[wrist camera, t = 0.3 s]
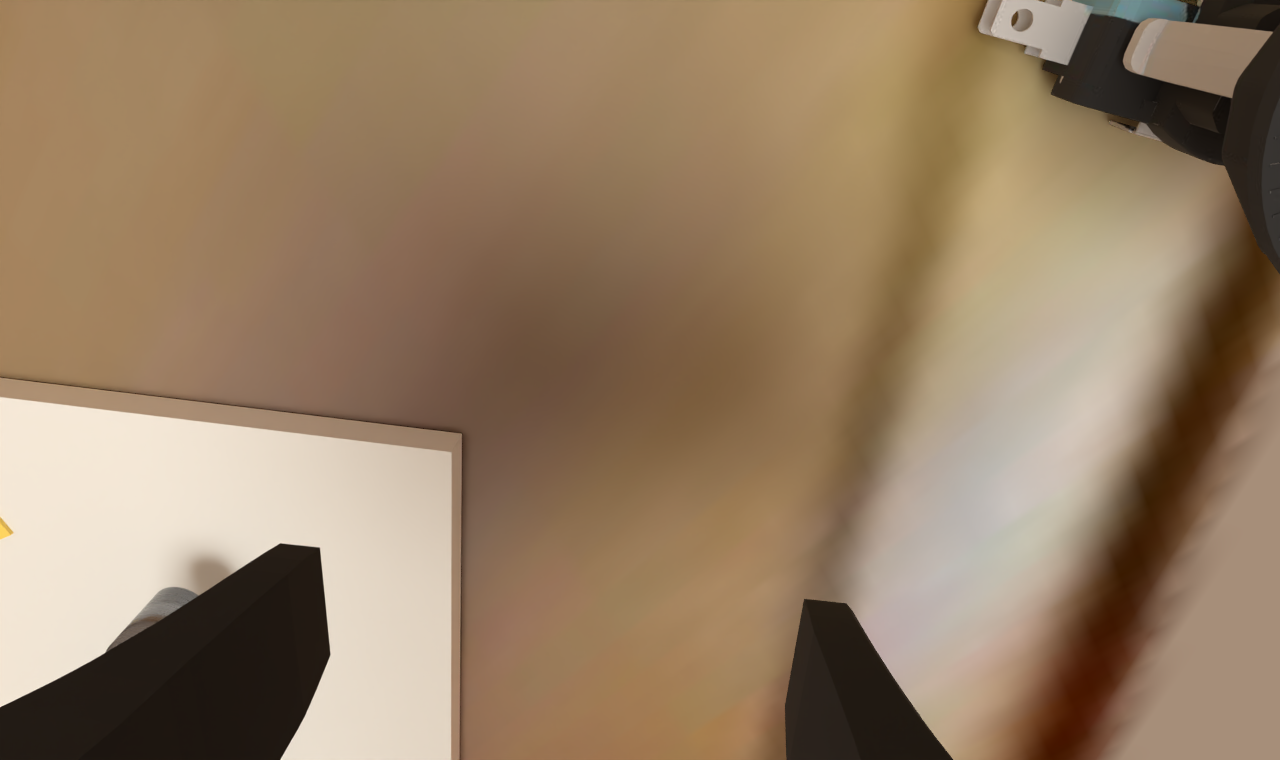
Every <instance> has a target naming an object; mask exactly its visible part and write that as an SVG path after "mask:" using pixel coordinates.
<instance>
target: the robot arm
mask: <svg viewBox="0 0 1280 760" xmlns="http://www.w3.org/2000/svg"><path fill="white" fill-rule="evenodd" d="M330 655H331V654H330V644H329V634H328V623H327V613H326V603H325V593H324V583H323V573H322V563H321V553H320V547H311V546H301V545H292V544H282V543H280V544H278V545H277V546H275V547H273V548H272V549H270V550H268V551H267V552H265V553H263V554H262V555H260V556H259V557H257V558H255V559H254V560H252V561H251V562H249V563H248V564H246V565H245V566H243V567H242V568H240V569H239V570H237V571H236V572H234V573H233V574H231V575H229V576H228V577H226V578H225V579H223V580H222V581H220V582H219V583H217V584H216V585H214V586H213V587H211V588H210V589H208V590H207V591H205V592H203V593H202V594H200V595H199V596H197V597H196V598H194V599H193V600H191V601H189V602H188V603H186V604H185V605H183V606H182V607H180V608H179V609H177V610H175V611H174V612H172V613H171V614H169V615H168V616H166V617H165V618H163V619H161V620H160V621H158V622H157V623H155V624H153V625H151V626H150V627H148V628H146V629H145V630H143V631H141V632H140V633H138V634H136V635H134V636H133V637H131V638H129V639H128V640H126V641H124V642H123V643H121V644H119V645H117V646H116V647H114V648H112V649H111V650H109V651H107V652H106V653H104V654H102V655H101V656H99V657H97V658H95V659H94V660H92V661H90V662H88V663H86V664H85V665H83V666H81V667H79V668H77V669H76V670H74V671H72V672H70V673H68V674H66V675H64V676H62V677H60V678H58V679H56V680H55V681H53V682H51V683H49V684H47V685H45V686H43V687H40V688H38V689H36V690H34V691H32V692H30V693H28V694H26V695H24V696H22V697H20V698H18V699H16V700H14V701H12V702H10V703H8V704H6V705H4V706H1V707H0V760H281V758H282V756H283V754H284V753H285V751H286V749H287V747H288V746H289V744H290V742H291V740H292V739H293V737H294V735H295V733H296V732H297V730H298V728H299V726H300V724H301V723H302V721H303V719H304V717H305V715H306V713H307V710H308V708H309V706H310V704H311V701H312V699H313V697H314V694H315V692H316V690H317V687H318V685H319V682H320V680H321V678H322V675H323V673H324V670H325V668H326V665H327V663H328V660H329V658H330ZM785 725H786V757H787V760H953V759H952V758H951V756H950V755H949V754H948V752H947V751H946V750H945V749H944V747H943V746H942V745H941V744H940V742H939V741H938V740H937V738H936V737H935V736H934V734H933V733H932V732H931V730H930V729H929V728H928V726H927V725H926V724H925V722H924V721H923V720H922V718H921V717H920V715H919V714H918V712H917V711H916V710H915V708H914V707H913V705H912V704H911V702H910V701H909V700H908V698H907V697H906V695H905V694H904V692H903V691H902V690H901V688H900V687H899V685H898V684H897V682H896V681H895V679H894V678H893V676H892V675H891V673H890V672H889V670H888V669H887V667H886V665H885V664H884V662H883V661H882V659H881V658H880V656H879V654H878V653H877V651H876V650H875V648H874V646H873V645H872V643H871V641H870V640H869V638H868V636H867V635H866V633H865V632H864V630H863V628H862V626H861V625H860V623H859V621H858V620H857V618H856V616H855V614H854V613H853V611H852V610H851V609H850V607H849V606H848V605H847V604H846V603H836V602H827V601H818V600H808V599H804V603H803V608H802V614H801V619H800V625H799V631H798V636H797V642H796V647H795V653H794V658H793V664H792V670H791V675H790V681H789V686H788V692H787V697H786V703H785Z"/></svg>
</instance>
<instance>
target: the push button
mask: <svg viewBox="0 0 1280 760" xmlns="http://www.w3.org/2000/svg"><path fill="white" fill-rule="evenodd" d="M1016 11H1017V13H1018V19H1017V21H1016V23H1015V24H1014V25H1013V26H1012V25H1011V19H1012V16H1013V14H1014V13H1015V12H1016ZM978 30H979V32H980V33H983V34H987V35H991V36H994V37H998V38H1001V39H1005V40H1008V41H1012V42H1016V43H1019V44H1023V45H1026V48H1025V51H1024V53H1025V54H1028V55H1032V56H1035V57H1039V58H1043V59H1046V62H1045V64H1044V67H1043V69H1042V70H1044V71H1048V72H1051V73H1054V74H1057V75H1059V76H1058V78H1057V80H1056V83H1055V85H1054V87H1053V89H1052V92H1051V95H1053V96H1056V97H1059V98H1061V99H1064V100H1067V101H1069V102H1072V103H1075V104H1078V105H1082V106H1085V107H1088V108H1092V109H1096V110H1099V111H1103V112H1106V113H1110V114H1114V115H1117V116H1121V117H1124V118H1128V119H1132V120H1135V121H1138V122H1139V124H1138V126H1137V127H1133V126H1130V125H1126V124H1123V123H1119V122H1115V121H1111V120H1110V122H1109V124H1110V125H1112V126H1115V127H1118V128H1120V129H1123V130H1125V131H1128V132H1131V133H1133V134H1136V135H1140V136H1143V137H1147V138H1150V139H1154V140H1158V141H1161V142H1164V143H1165V144H1167V145H1169V146H1170V147H1172V148H1174V149H1176V150H1179V151H1181V152H1184V153H1186V154H1189V155H1191V156H1194V157H1196V158H1199V159H1201V160H1204V161H1207V162H1210V163H1213V164H1217V165H1223V166H1225V167H1226V170H1227V172H1228V174H1229V177H1230V179H1231V182H1232V184H1233V186H1234V189H1235V191H1236V194H1237V196H1238V198H1239V201H1240V203H1241V206H1242V208H1243V210H1244V213H1245V215H1246V217H1247V220H1248V222H1249V225H1250V227H1251V229H1252V232H1253V234H1254V237H1255V239H1256V241H1257V244H1258V246H1259V248H1260V249H1261V251H1262V252H1263V253H1264V254H1266V255H1267V257H1268V258H1269V260H1270V261H1271V262H1272V264H1273V265H1274V267H1275V268H1276V270H1277V271H1278V272H1279V274H1280V0H1198V2H1197V6H1195V5H1191V4H1188V3H1184V2H1181V1H1177V0H1072V1H1071V0H1062V1H1060V0H1045V2H1041V1H1038V0H988V1H987V4H986V6H985V9H984V11H983V14H982V16H981V19H980V22H979V24H978Z"/></svg>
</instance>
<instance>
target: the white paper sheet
mask: <svg viewBox="0 0 1280 760" xmlns="http://www.w3.org/2000/svg"><path fill="white" fill-rule="evenodd" d="M461 495H462V434H461V433H452V432H444V431H436V430H428V429H419V428H411V427H403V426H395V425H386V424H378V423H370V422H362V421H353V420H345V419H337V418H329V417H320V416H312V415H304V414H296V413H287V412H279V411H271V410H263V409H255V408H246V407H238V406H230V405H222V404H213V403H205V402H197V401H189V400H180V399H172V398H164V397H156V396H147V395H139V394H131V393H123V392H114V391H106V390H98V389H90V388H81V387H73V386H65V385H57V384H48V383H40V382H32V381H24V380H15V379H7V378H0V707H1V706H4V705H6V704H8V703H10V702H12V701H14V700H16V699H18V698H20V697H22V696H24V695H26V694H28V693H30V692H32V691H34V690H36V689H38V688H40V687H43V686H45V685H47V684H49V683H51V682H53V681H55V680H56V679H58V678H60V677H62V676H64V675H66V674H68V673H70V672H72V671H74V670H76V669H77V668H79V667H81V666H83V665H85V664H86V663H88V662H90V661H92V660H94V659H95V658H97V657H99V656H101V655H102V654H104V653H106V650H107V648H108V647H109V646H110V645H111V643H112V642H113V641H114V640H115V639H116V638H117V637H118V636H119V635H120V633H121V632H122V631H123V630H124V629H125V628H126V627H127V626H128V625H129V624H130V622H131V621H132V620H133V619H134V618H135V617H136V616H137V615H138V614H139V612H140V611H141V610H142V609H143V608H144V607H145V606H146V605H147V604H148V603H149V601H150V600H151V599H152V598H153V597H154V596H155V595H156V594H157V593H158V592H159V591H160V590H162V589H164V588H168V587H180V588H185V589H188V590H190V591H192V592H194V593H196V594H197V595H200V594H202V593H203V592H205V591H207V590H208V589H210V588H211V587H213V586H214V585H216V584H217V583H219V582H220V581H222V580H223V579H225V578H226V577H228V576H229V575H231V574H233V573H234V572H236V571H237V570H239V569H240V568H242V567H243V566H245V565H246V564H248V563H249V562H251V561H252V560H254V559H255V558H257V557H259V556H260V555H262V554H263V553H265V552H267V551H268V550H270V549H272V548H273V547H275V546H277V545H278V544H280V543H282V544H292V545H301V546H311V547H320V553H321V563H322V573H323V583H324V593H325V603H326V613H327V623H328V634H329V644H330V654H331V655H330V658H329V660H328V663H327V665H326V668H325V670H324V673H323V675H322V678H321V680H320V682H319V685H318V687H317V690H316V692H315V694H314V697H313V699H312V701H311V704H310V706H309V708H308V710H307V713H306V715H305V717H304V719H303V721H302V723H301V724H300V726H299V728H298V730H297V732H296V733H295V735H294V737H293V739H292V740H291V742H290V744H289V746H288V747H287V749H286V751H285V753H284V754H283V756H282V758H281V760H460V628H461Z"/></svg>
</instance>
